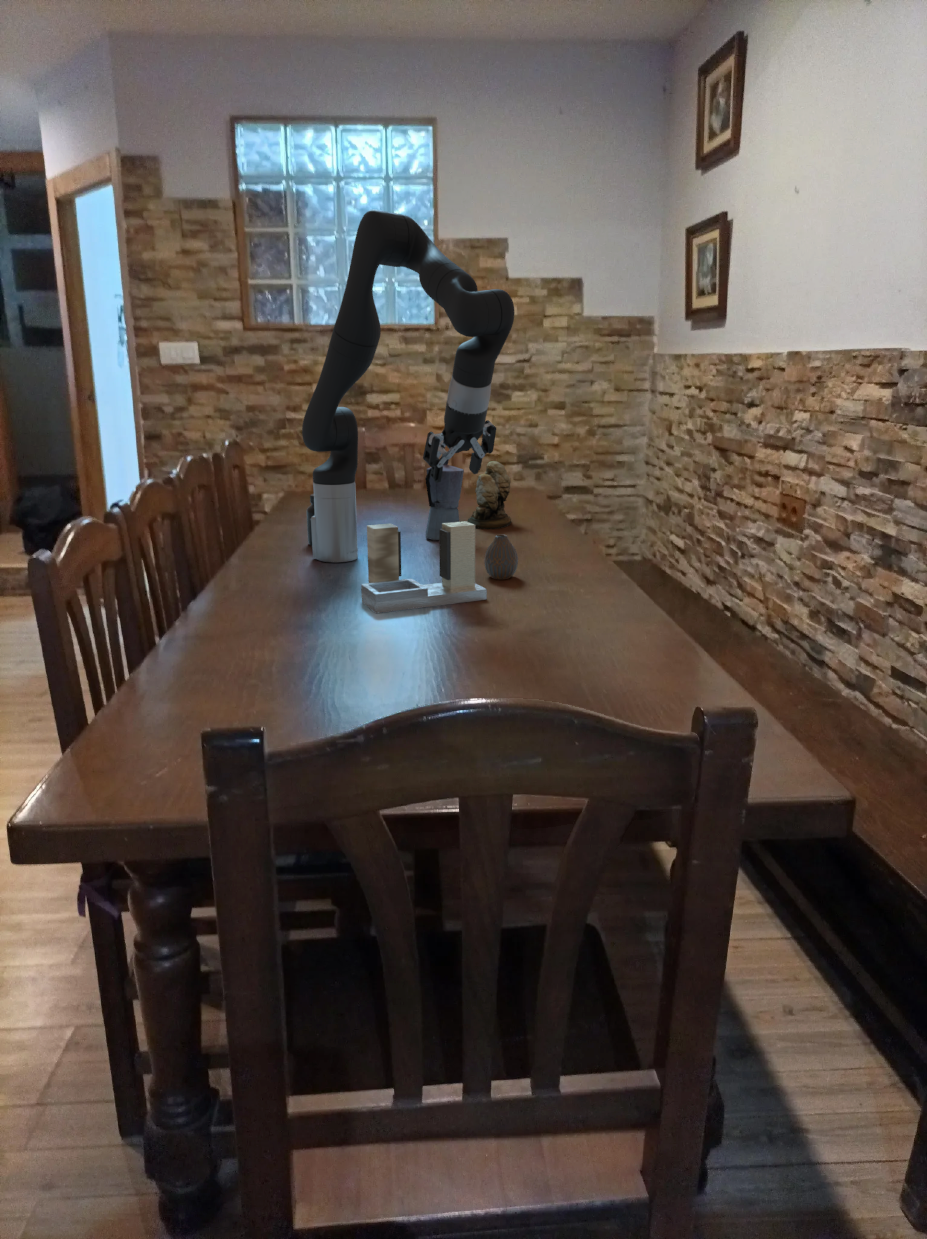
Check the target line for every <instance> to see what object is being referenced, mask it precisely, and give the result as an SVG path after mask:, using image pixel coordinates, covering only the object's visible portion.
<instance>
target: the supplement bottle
mask: <svg viewBox="0 0 927 1239" xmlns="http://www.w3.org/2000/svg"><path fill="white" fill-rule="evenodd" d="M309 503H310V505H309V506H308V507H307V508H306V527H307V529H306V530H307V542H308V545H309V546H311V547H312V529H311V517H312V516H315V510H314V493H311V494H310V495H309Z"/></svg>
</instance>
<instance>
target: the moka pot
mask: <svg viewBox="0 0 927 1239" xmlns="http://www.w3.org/2000/svg"><path fill="white" fill-rule="evenodd" d="M449 461H450V459H447V460H446V462H445V463H444V464H443V465H442V466H443V471H442V477H441V482H440V483H436V482H435V481H434V480H433V479H432V478H431V476H430V472H431V466H429V467H427V468H426V476H425V479H424V480H425V485H426V486H425V487H426V493H427V498H428V505H429V512H428V516H427V524H426V529H425V534H424V535H425V538H426V539H430V540H433V541H439V529H442V523H452V522H460V514H459V513H460V511H459V509H458V508H459V501H460V499H461V493H462V485H463V479H464V474H465V470H464V469H463V468H460V467H457V466H454V465H449Z"/></svg>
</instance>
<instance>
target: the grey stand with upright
mask: <svg viewBox="0 0 927 1239" xmlns="http://www.w3.org/2000/svg"><path fill="white" fill-rule="evenodd" d="M438 541H439V542H438V543H439V545H438V546H439V577H441V582H436V583H428V584H422V583H419V582H418V581H416V580H415V579H413V578H403V579H399V580H393V581H384V582H375V583H369V582H368V583H361V584H360V589H361V591H360V592H361V593H360V594H361V595H360V596H361V603H362V604H363V605H365V606H366V607H367V608H368V609H370V610H371V611H373V612H374V613H375V614H382V612H383V613H390V612H391V613H392V612H398V611H404V610H405V611H406V610H414V609H421V608H429V607H430V608H431V607H439V606H444V605H453V604H461V603H469V602H478V601H484V600H487V598H488V594H487V592H488V590H487V588H485V587H483V586H482V585H479V584H477V582H476V528H475V525H474V524H472V523H469V522H467V521H466V520H465V521H459V522H452V523H442V529H439V540H438Z"/></svg>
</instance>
